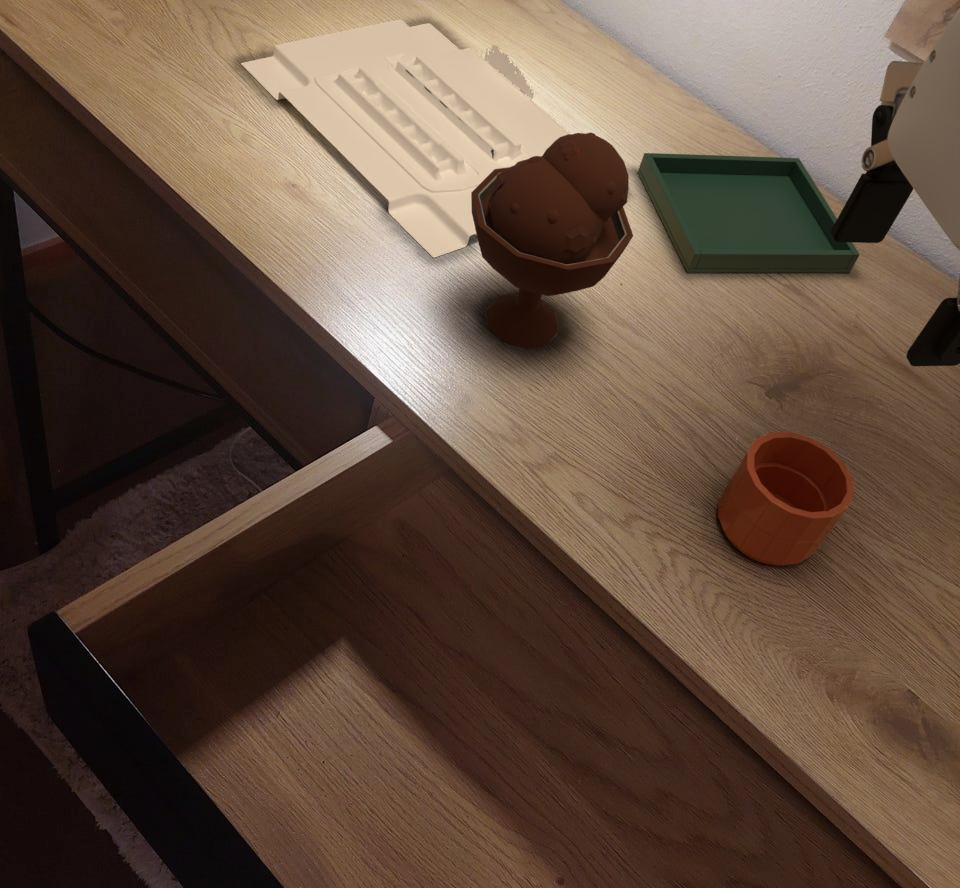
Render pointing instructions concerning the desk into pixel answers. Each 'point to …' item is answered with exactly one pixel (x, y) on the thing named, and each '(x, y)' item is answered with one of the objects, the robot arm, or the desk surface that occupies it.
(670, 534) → the desk surface
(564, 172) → the ice cream bowl
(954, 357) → the robot arm
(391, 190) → the tray
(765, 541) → the small cup
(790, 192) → the green tray
